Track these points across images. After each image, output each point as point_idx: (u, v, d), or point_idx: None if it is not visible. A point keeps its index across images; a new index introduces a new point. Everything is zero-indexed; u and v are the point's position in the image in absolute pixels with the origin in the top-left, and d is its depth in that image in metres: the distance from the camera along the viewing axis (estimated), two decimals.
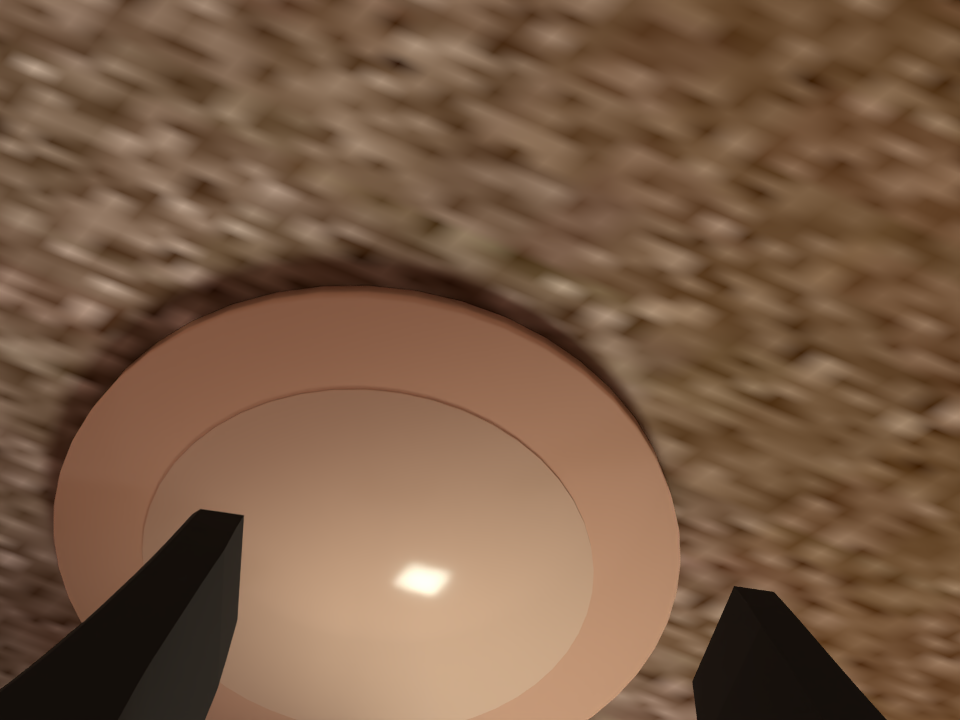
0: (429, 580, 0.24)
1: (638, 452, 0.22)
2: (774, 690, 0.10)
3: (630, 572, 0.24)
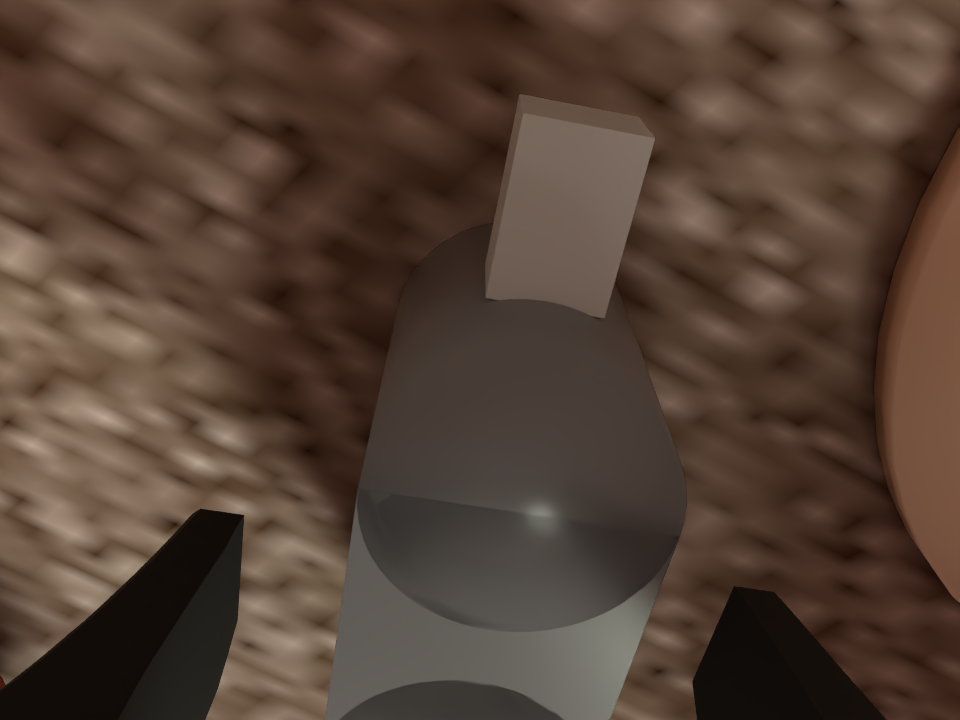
0: None
1: None
2: (774, 690, 0.10)
3: None
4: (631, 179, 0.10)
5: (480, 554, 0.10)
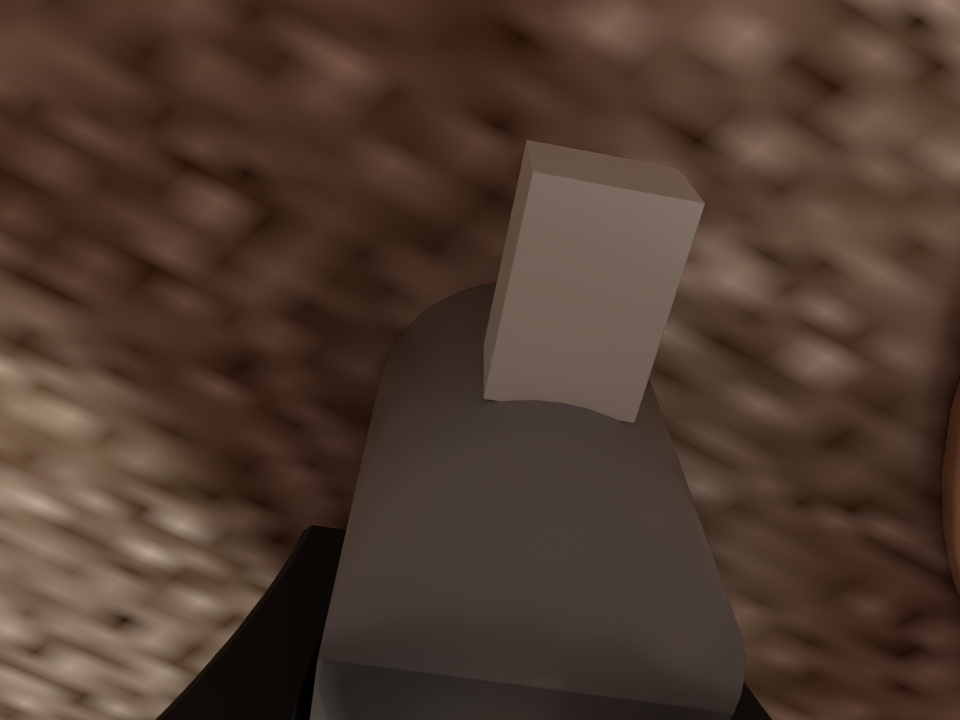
0: None
1: None
2: None
3: None
4: (671, 255, 0.08)
5: None
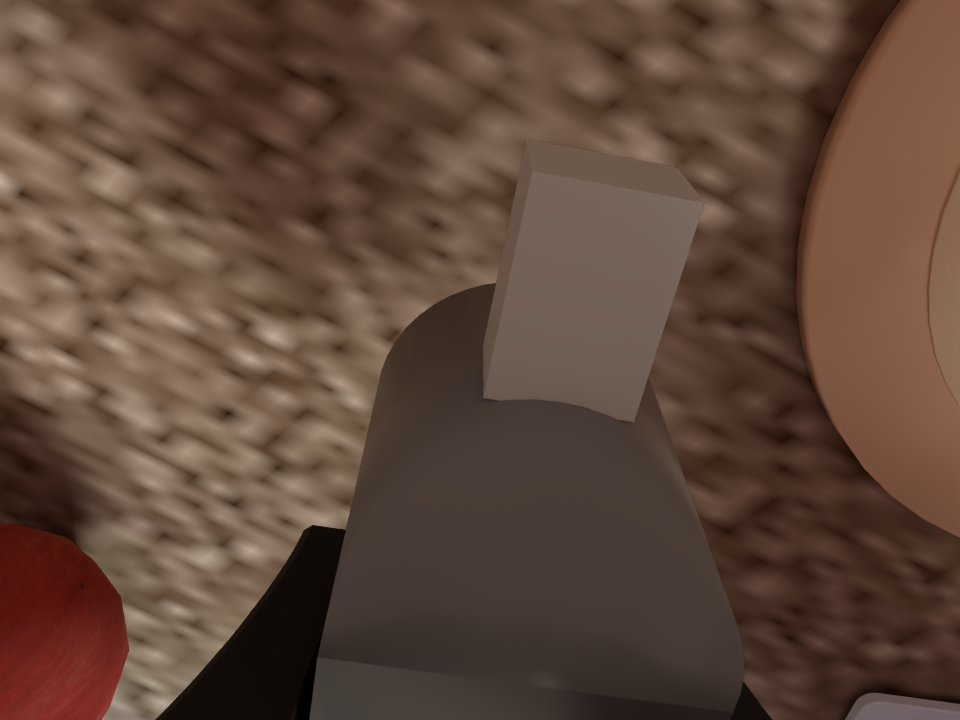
0: None
1: None
2: None
3: None
4: (671, 254, 0.08)
5: None
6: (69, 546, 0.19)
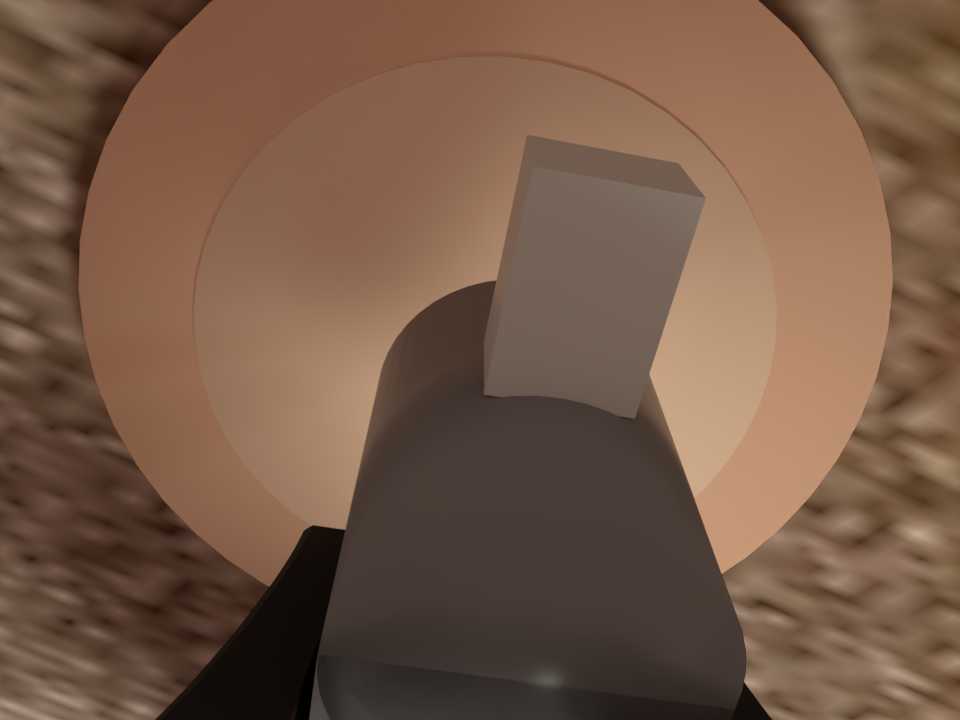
0: None
1: (855, 160, 0.17)
2: None
3: (821, 345, 0.19)
4: (673, 249, 0.08)
5: None
6: None
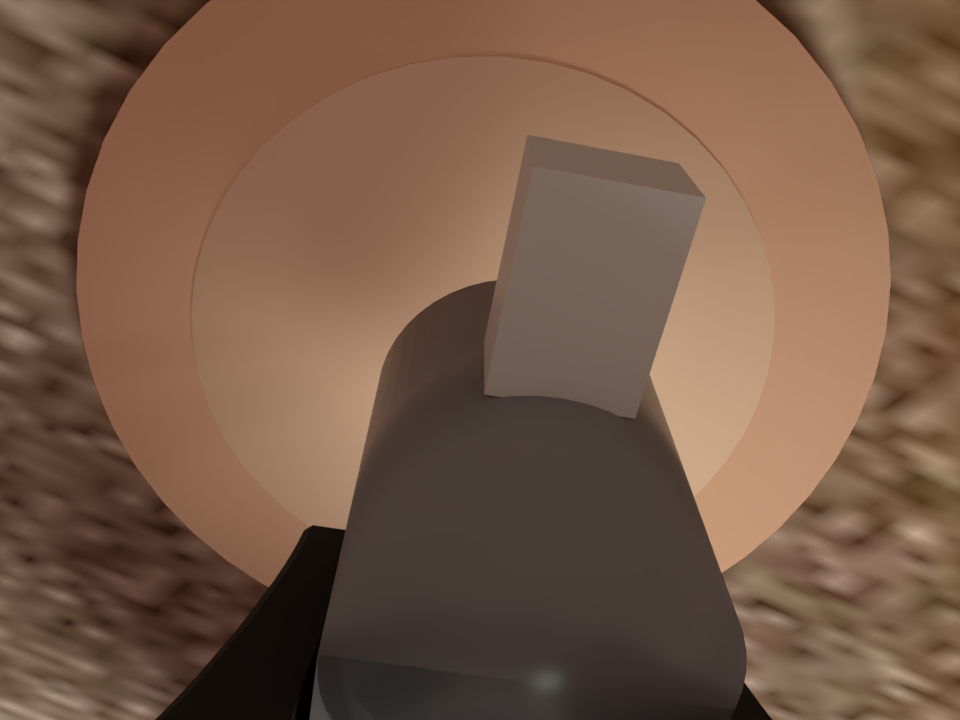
0: None
1: (853, 159, 0.17)
2: None
3: (819, 345, 0.19)
4: (673, 249, 0.08)
5: None
6: None
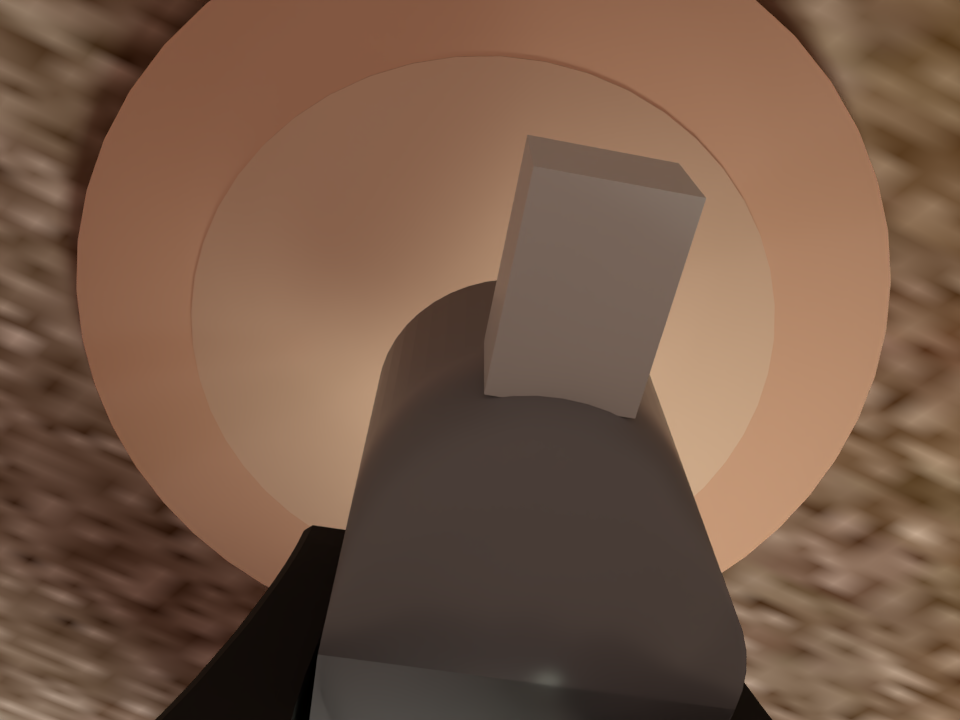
0: None
1: (853, 159, 0.17)
2: None
3: (819, 345, 0.19)
4: (673, 249, 0.08)
5: None
6: None
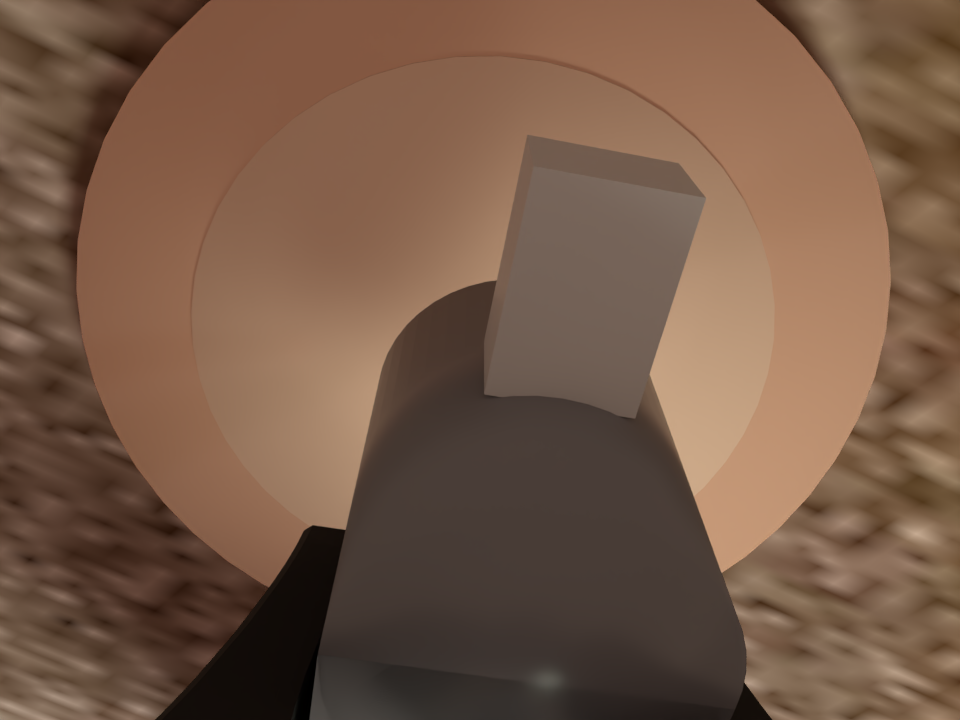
0: None
1: (853, 159, 0.17)
2: None
3: (819, 345, 0.19)
4: (673, 249, 0.08)
5: None
6: None
